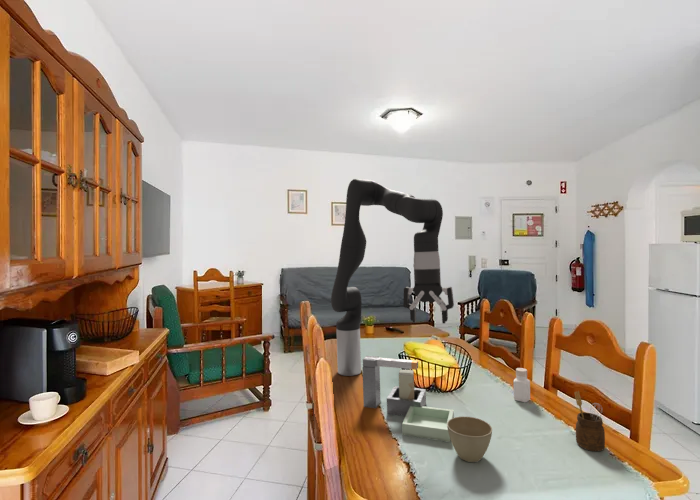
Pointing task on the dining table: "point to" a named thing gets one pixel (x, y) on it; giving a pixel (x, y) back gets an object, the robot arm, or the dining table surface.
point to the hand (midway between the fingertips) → (428, 322)
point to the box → (406, 384)
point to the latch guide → (371, 383)
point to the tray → (427, 423)
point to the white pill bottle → (521, 385)
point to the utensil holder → (589, 429)
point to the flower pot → (469, 437)
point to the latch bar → (395, 363)
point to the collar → (404, 401)
